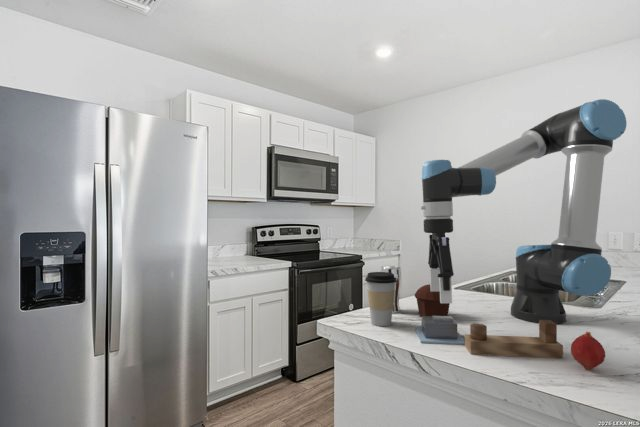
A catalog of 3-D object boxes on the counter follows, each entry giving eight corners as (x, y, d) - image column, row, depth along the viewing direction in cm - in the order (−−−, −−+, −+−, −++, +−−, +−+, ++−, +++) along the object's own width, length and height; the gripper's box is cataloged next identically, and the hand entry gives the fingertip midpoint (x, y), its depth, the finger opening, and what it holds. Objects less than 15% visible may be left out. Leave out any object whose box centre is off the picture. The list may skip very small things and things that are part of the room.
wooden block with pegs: (551, 350, 85) (551, 319, 85) (563, 358, 80) (562, 325, 80) (464, 346, 87) (464, 316, 87) (470, 354, 82) (470, 322, 83)
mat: (455, 330, 99) (455, 329, 99) (465, 344, 88) (465, 342, 88) (415, 329, 101) (415, 327, 101) (420, 342, 90) (420, 341, 90)
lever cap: (451, 331, 97) (451, 314, 97) (457, 339, 91) (457, 320, 91) (421, 330, 98) (421, 313, 98) (425, 338, 92) (425, 319, 92)
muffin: (434, 310, 122) (434, 281, 122) (459, 318, 112) (459, 286, 112) (407, 314, 117) (406, 284, 117) (430, 323, 107) (430, 290, 107)
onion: (564, 364, 77) (563, 327, 77) (588, 363, 77) (588, 326, 77) (586, 376, 71) (586, 336, 71) (612, 375, 71) (612, 335, 71)
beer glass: (389, 314, 116) (389, 269, 116) (376, 309, 122) (376, 266, 122) (405, 311, 119) (405, 267, 119) (392, 307, 125) (392, 265, 126)
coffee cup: (397, 329, 101) (396, 276, 101) (364, 327, 103) (363, 275, 103) (396, 319, 110) (396, 271, 110) (366, 318, 112) (366, 271, 112)
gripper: (417, 217, 108) (419, 287, 108) (431, 219, 83) (434, 308, 83) (442, 217, 107) (444, 287, 107) (465, 218, 82) (468, 309, 82)
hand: (440, 296), depth 95 cm, fingers open, 13 cm apart
